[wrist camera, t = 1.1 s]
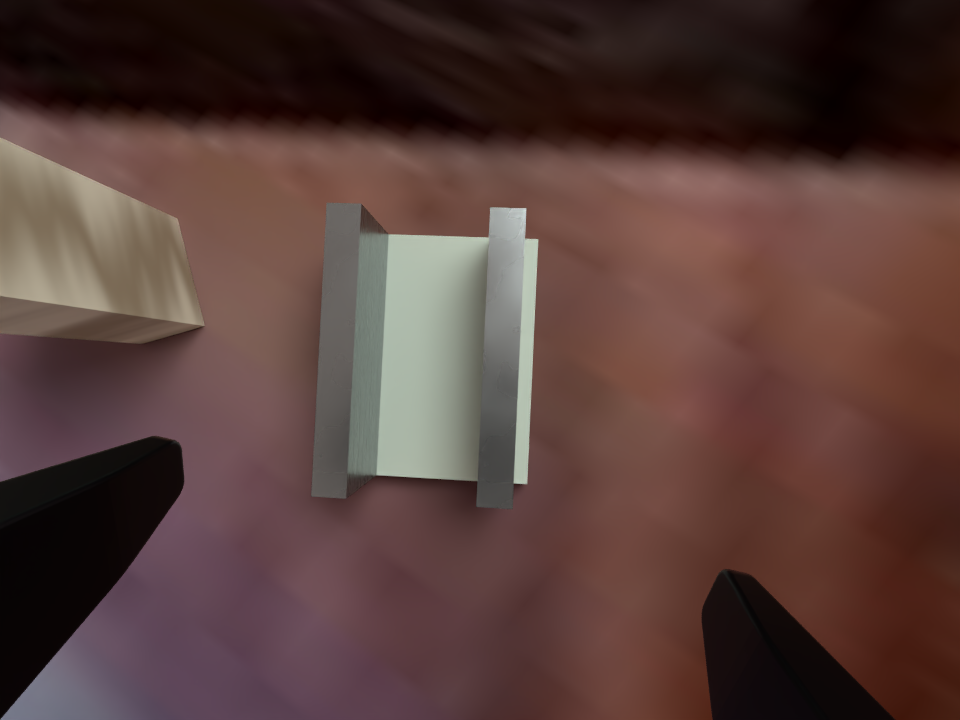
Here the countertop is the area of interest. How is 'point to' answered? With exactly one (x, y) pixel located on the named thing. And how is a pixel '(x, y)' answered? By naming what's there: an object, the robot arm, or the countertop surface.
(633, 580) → the countertop surface
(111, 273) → the ash slab
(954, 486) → the countertop surface
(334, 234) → the grey channel bracket
